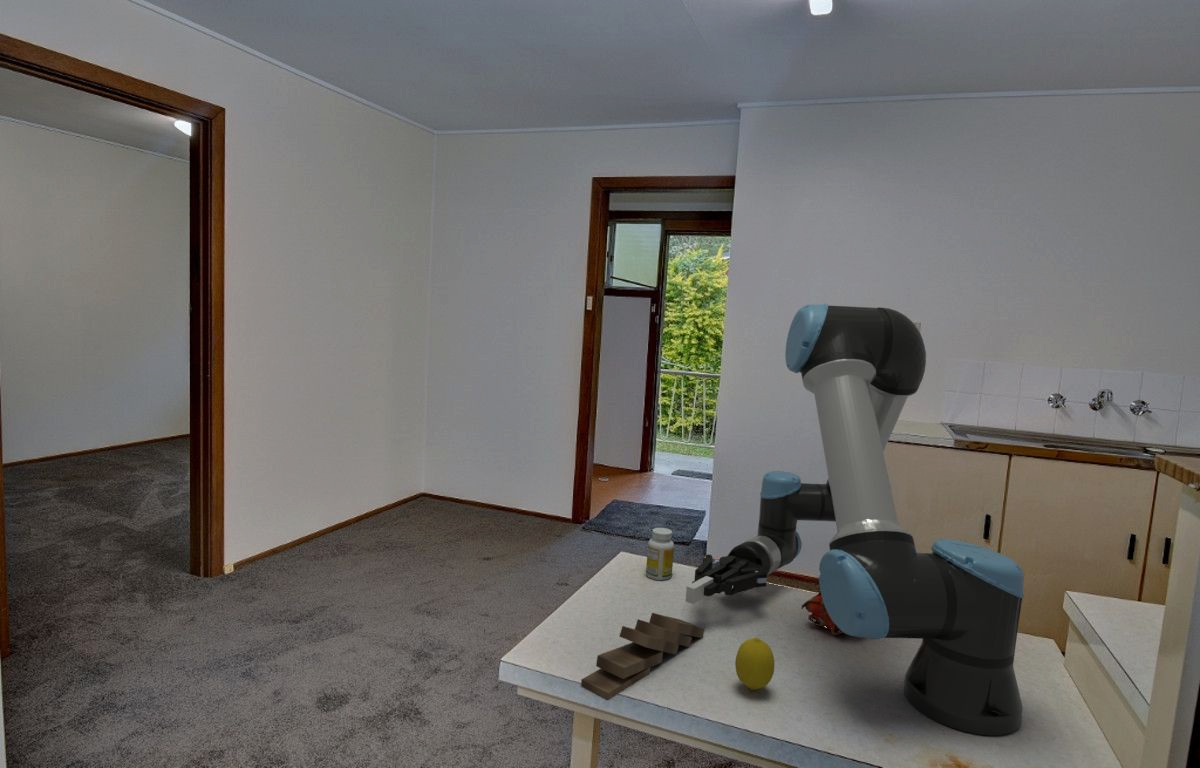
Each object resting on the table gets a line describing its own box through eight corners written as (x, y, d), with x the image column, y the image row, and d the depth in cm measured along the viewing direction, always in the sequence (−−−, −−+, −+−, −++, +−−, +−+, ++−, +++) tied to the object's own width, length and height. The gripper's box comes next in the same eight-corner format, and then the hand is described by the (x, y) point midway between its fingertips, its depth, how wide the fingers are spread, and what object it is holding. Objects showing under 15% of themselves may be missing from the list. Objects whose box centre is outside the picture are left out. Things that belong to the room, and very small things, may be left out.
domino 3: (650, 667, 104) (608, 693, 97) (649, 677, 105) (607, 704, 97) (624, 654, 108) (581, 679, 100) (623, 664, 108) (580, 689, 100)
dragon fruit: (876, 650, 119) (803, 644, 124) (874, 606, 125) (805, 602, 130) (874, 623, 114) (798, 618, 118) (872, 578, 120) (800, 575, 125)
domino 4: (692, 637, 114) (664, 629, 106) (689, 647, 113) (661, 639, 106) (666, 627, 117) (637, 619, 109) (663, 637, 116) (634, 629, 109)
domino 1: (679, 644, 110) (649, 636, 103) (676, 654, 110) (646, 647, 102) (652, 634, 113) (622, 625, 106) (649, 644, 113) (619, 636, 105)
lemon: (772, 703, 98) (777, 649, 97) (733, 697, 99) (737, 644, 98) (771, 683, 104) (775, 632, 103) (733, 677, 105) (737, 626, 104)
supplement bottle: (646, 580, 140) (649, 534, 139) (645, 570, 145) (648, 525, 144) (672, 581, 140) (676, 535, 139) (671, 571, 145) (674, 527, 144)
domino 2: (663, 651, 107) (624, 667, 99) (661, 662, 107) (623, 678, 99) (636, 640, 110) (597, 655, 102) (635, 650, 110) (596, 666, 102)
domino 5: (704, 628, 117) (678, 622, 109) (702, 638, 117) (675, 632, 109) (679, 619, 120) (652, 612, 112) (676, 628, 120) (649, 622, 112)
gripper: (783, 588, 131) (722, 629, 113) (722, 569, 140) (656, 604, 121) (786, 550, 131) (725, 585, 112) (725, 533, 139) (659, 563, 120)
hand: (689, 595), depth 117 cm, fingers closed
